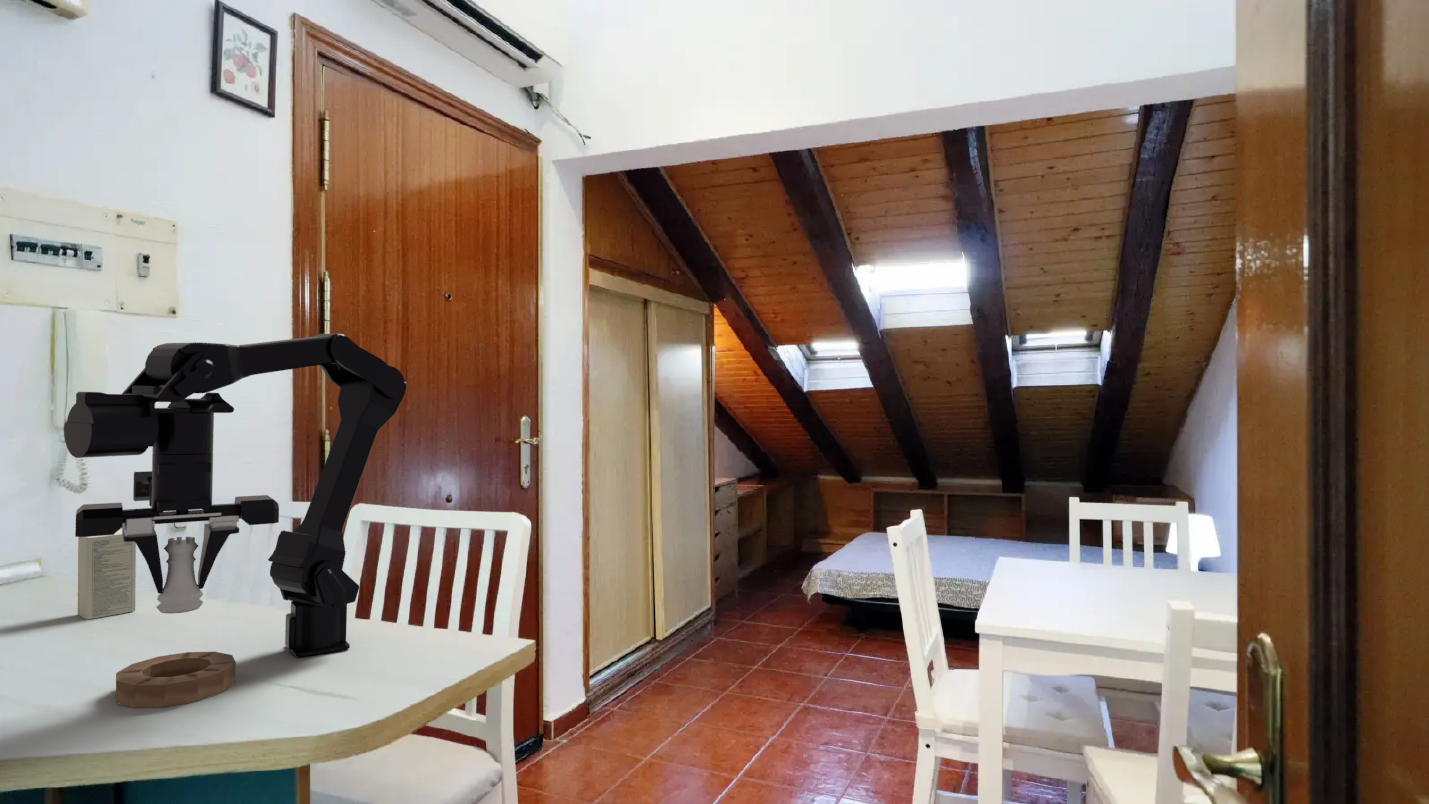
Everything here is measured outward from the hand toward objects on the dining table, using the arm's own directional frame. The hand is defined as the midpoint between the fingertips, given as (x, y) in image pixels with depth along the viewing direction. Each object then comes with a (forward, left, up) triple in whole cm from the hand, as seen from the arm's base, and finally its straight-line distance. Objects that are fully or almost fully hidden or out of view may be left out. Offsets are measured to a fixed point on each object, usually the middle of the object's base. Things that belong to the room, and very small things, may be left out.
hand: (180, 590), depth 89 cm
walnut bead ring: (0, 0, -11) cm, 11 cm away
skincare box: (+6, -41, -11) cm, 43 cm away
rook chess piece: (0, 0, -2) cm, 2 cm away
